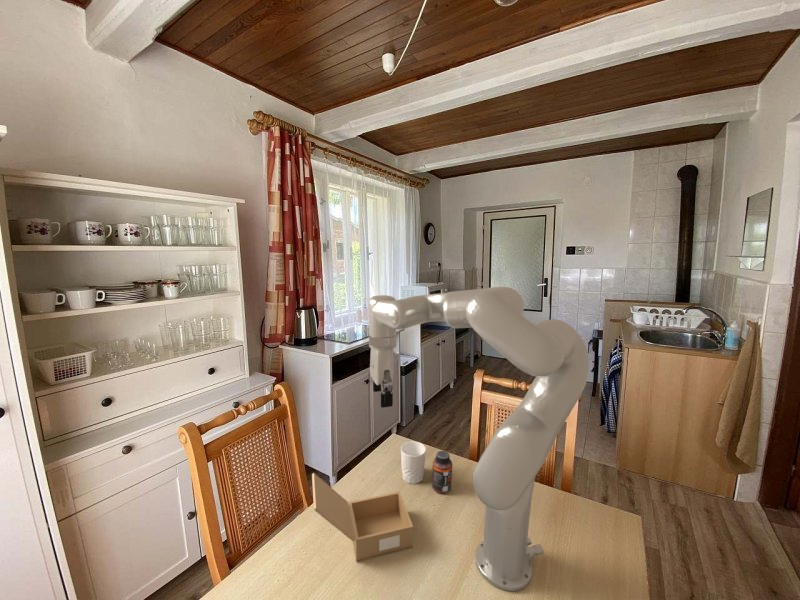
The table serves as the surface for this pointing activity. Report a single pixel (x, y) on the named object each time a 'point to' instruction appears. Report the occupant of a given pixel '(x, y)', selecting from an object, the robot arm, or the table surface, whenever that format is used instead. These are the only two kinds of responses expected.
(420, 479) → the white cup
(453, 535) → the table surface
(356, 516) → the carton
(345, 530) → the cardboard box lid
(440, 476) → the supplement bottle
